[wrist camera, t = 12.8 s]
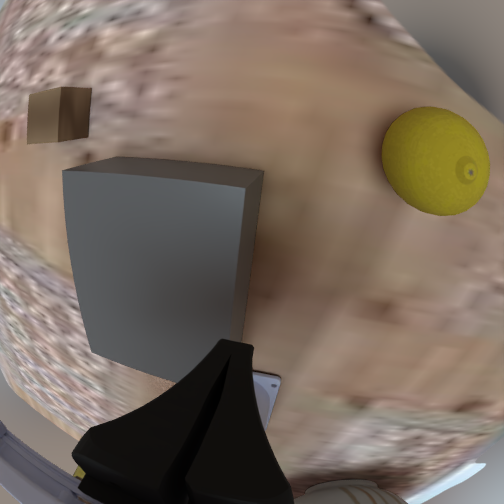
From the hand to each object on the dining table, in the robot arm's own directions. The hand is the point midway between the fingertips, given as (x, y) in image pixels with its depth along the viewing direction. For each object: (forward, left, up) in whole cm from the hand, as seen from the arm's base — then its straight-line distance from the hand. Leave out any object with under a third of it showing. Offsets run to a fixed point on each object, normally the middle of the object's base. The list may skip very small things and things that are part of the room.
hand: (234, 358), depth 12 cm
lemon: (+9, -8, -10) cm, 16 cm away
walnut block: (+10, +17, -10) cm, 22 cm away
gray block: (-1, +7, -10) cm, 12 cm away
